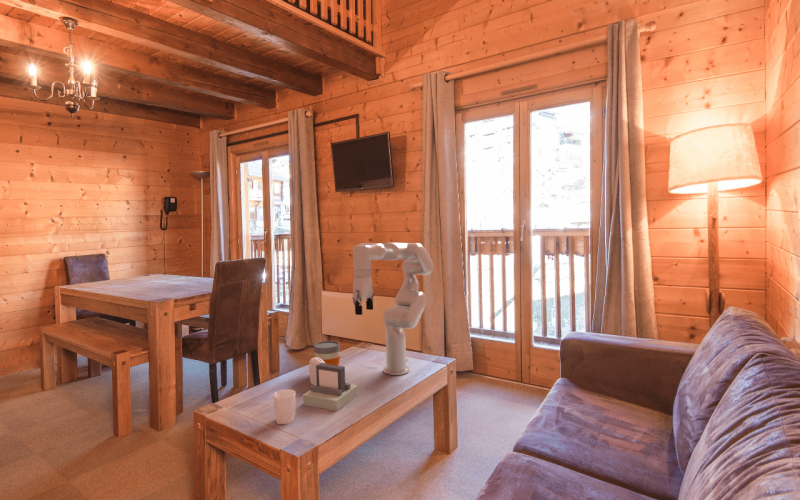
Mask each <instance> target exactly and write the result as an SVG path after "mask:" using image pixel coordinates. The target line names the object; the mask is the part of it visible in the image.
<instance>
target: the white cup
mask: <svg viewBox="0 0 800 500" xmlns="http://www.w3.org/2000/svg"><path fill="white" fill-rule="evenodd" d="M296 393H297V392H296V391H295V390H293V389H281V390H278V391H276V392H274V393H273V407H274V414H275V421H276V423H277V424H279V425H288V424H291V423H294V421H295V420H296V401H297V400H296V396H297V395H296Z"/></svg>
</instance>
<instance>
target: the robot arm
mask: <svg viewBox="0 0 800 500" xmlns="http://www.w3.org/2000/svg"><path fill="white" fill-rule="evenodd" d="M352 257H353V258H352V259H353V260H352V261H353V282H352V297H351V299H352V302H353V304H354V311H355V315H356V316H357V315H358V316H362V315H363V305H362V303H363V301H365V307H366V308H365V309H366V310H367V311H369V310H370V311H371V310H374V296H375V295H374V293H375V289H374V288H373V281H372V280H373V279H372V261H379V260H381V261H382V260H383V261H402V265H401V267H402V273H403V282H402V285H401V287H400V289H399V290H398V292H397V294H396V295H395V299H394V304H395V306H389V307H387V308H385V310H384V311H383V315H382V318H383V324H384V329H385V330H384V331H385V354H386V358H385V359H386V360H385V362H386V366H385V367H384V368H383V373H385V374H386V375H388V376H402V375H406V374H408V373H409V372H410V367H409V366H408V365H407V362H408V361H409V360H408V358H407V352H406V350H407V349H406V348H407V346H406V344H407V343H406V333H405V329H408V330H409V329H410V330H411V329H414V328H415V327H416V326H417V325H418V323H419V321H420V319H421V317H422V315H423V312H424V310H425V309H426V308H425V307H426V306H427V296H426V294H425V293H424V292H423V291H420V290H419V288H420V283H419V280H418V278H417V276H418V275H419V276H429V275H431V274H432V273H433V271H434V263H433V259H432V258H431V256H430V255H429V253H428V251H427V249H426V248H425V246H423V245H422V244H421V243H419V242H361V243H358V244H356V245H354V246H353V247H352ZM416 275H417V276H416Z"/></svg>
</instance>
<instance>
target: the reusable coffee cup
mask: <svg viewBox="0 0 800 500" xmlns="http://www.w3.org/2000/svg"><path fill="white" fill-rule="evenodd" d="M340 351H341V345H340V342H339V341H336V340H324V341H323V340H322V341H319V342H316V343H314V345H313V353H314V357H318V358H320V359H322V360H323V361H324V362H325V364H330V365H337V366H340V357H341V354H340Z"/></svg>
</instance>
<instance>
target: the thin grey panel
mask: <svg viewBox="0 0 800 500" xmlns="http://www.w3.org/2000/svg"><path fill="white" fill-rule="evenodd" d="M345 368H346V367H345V366H343V365H338V366H337V365H330V364H323V363H320V364H318V365H316V377H317V386H321V387H327V388H333V389H339V390H342V393H343V392H344V391H346V390H345V383H346V369H345Z"/></svg>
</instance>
